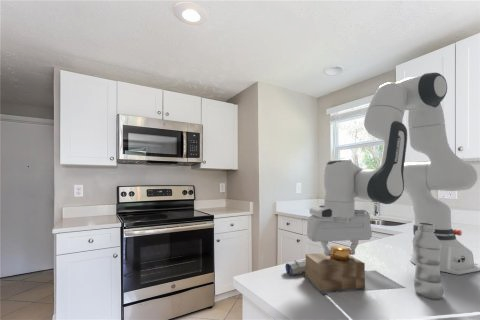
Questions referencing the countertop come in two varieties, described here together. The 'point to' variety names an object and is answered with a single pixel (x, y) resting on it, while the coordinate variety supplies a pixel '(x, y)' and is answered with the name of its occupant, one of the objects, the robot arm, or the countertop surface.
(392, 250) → the countertop surface
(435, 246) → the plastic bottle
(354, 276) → the hitch block
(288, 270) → the white handheld device
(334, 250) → the brass knob
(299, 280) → the countertop surface
